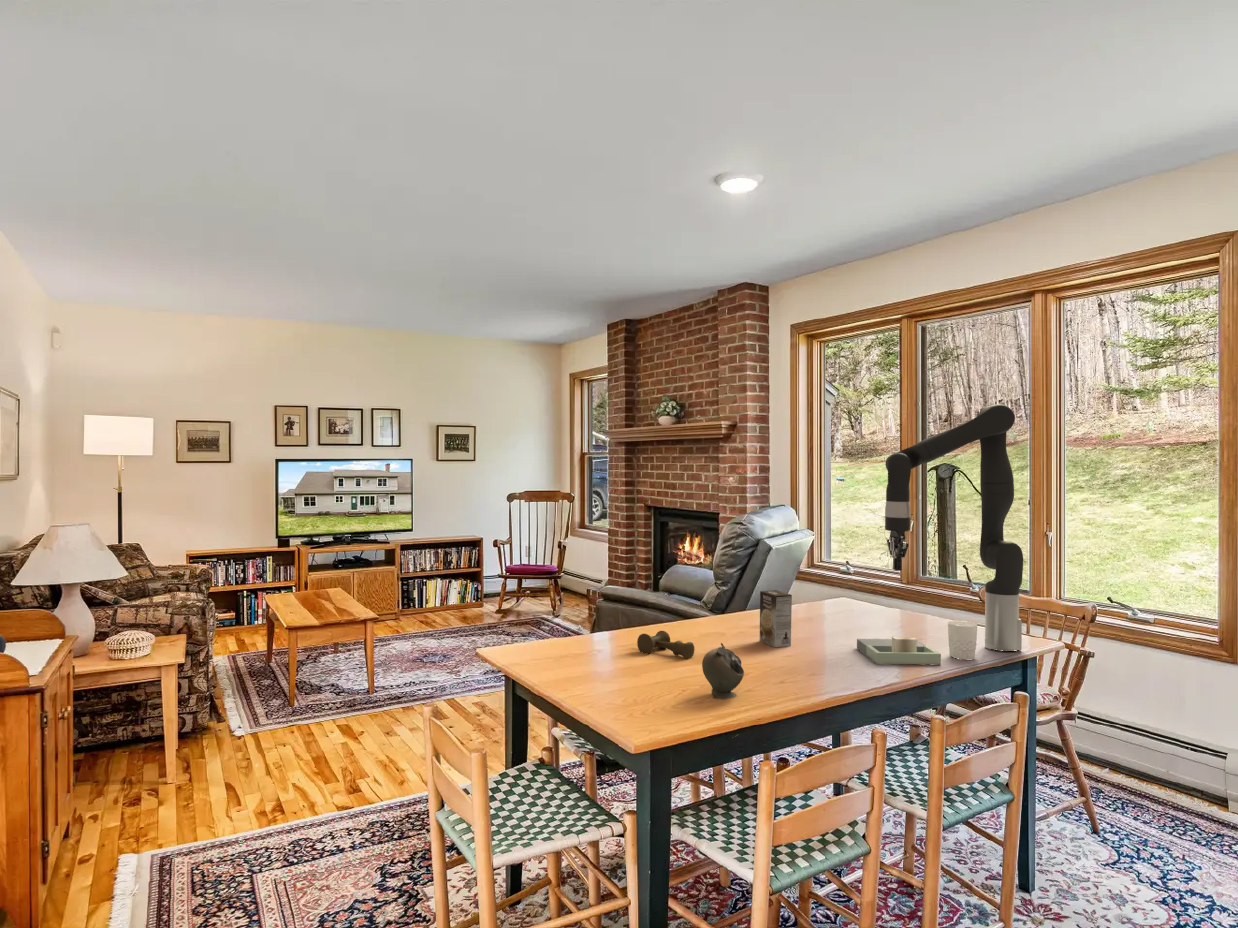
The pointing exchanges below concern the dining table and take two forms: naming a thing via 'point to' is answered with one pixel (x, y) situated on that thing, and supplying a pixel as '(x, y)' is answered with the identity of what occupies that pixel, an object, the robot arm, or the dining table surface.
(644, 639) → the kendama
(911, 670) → the dining table surface
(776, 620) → the coffee box
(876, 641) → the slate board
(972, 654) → the white cup
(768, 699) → the dining table surface
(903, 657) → the box
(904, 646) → the pale wooden block
